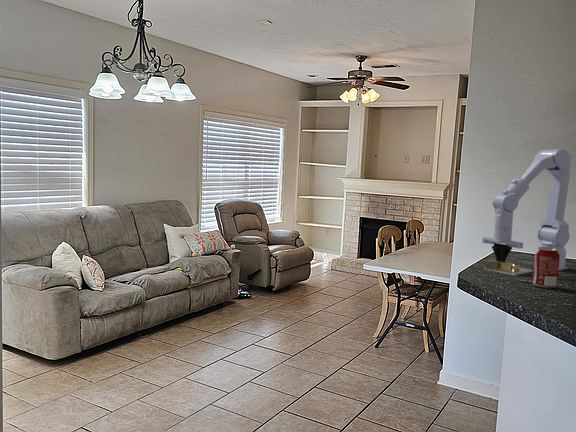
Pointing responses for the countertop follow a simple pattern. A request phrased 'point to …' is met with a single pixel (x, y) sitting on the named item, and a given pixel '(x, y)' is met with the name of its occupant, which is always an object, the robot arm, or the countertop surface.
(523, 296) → the countertop surface
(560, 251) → the robot arm
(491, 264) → the keeper
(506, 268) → the swing bar
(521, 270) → the plate
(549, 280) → the soda can
